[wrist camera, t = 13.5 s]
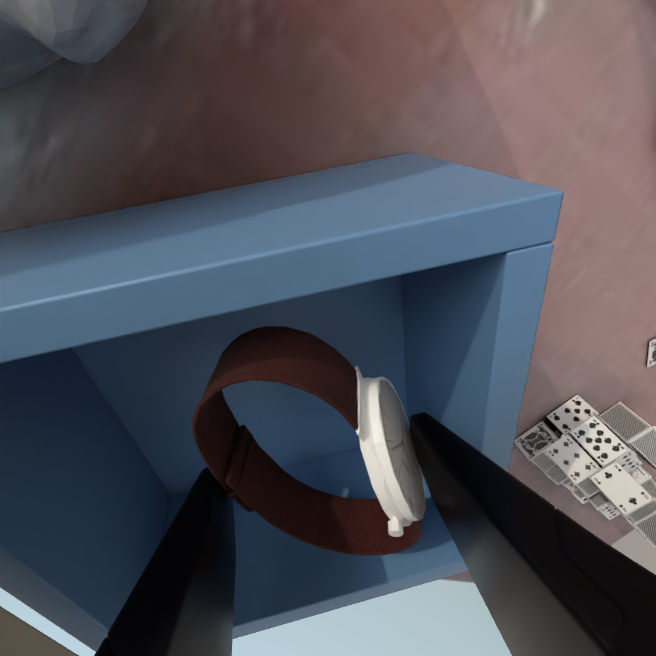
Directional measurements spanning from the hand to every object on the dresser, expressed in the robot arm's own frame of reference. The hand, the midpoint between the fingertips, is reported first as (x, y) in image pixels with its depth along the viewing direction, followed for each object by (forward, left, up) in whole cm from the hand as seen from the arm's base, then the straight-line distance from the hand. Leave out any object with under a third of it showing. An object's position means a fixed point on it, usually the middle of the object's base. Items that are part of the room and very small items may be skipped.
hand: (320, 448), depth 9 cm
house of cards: (+15, -9, -5) cm, 19 cm away
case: (-1, 0, -5) cm, 5 cm away
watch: (0, 0, -1) cm, 1 cm away
